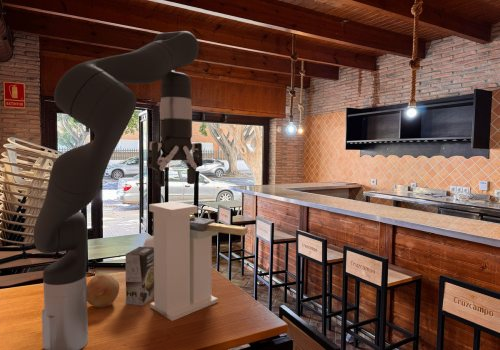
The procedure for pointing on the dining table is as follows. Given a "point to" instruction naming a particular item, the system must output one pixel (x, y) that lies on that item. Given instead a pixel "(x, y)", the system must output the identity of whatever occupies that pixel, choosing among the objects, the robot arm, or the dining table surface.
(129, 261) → the coffee box
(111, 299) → the onion
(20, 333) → the dining table surface
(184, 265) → the stepped stand
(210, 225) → the wooden handled tool
